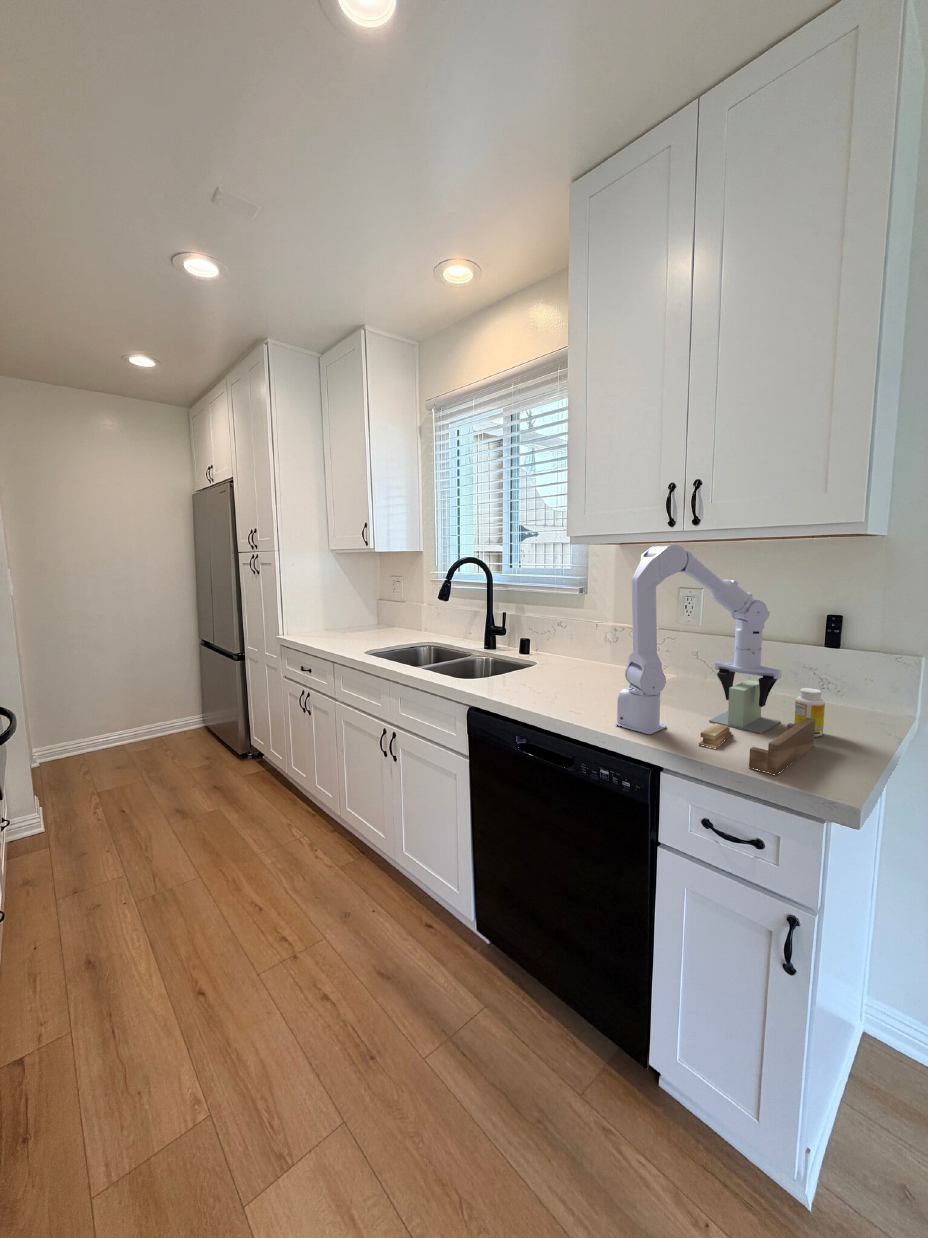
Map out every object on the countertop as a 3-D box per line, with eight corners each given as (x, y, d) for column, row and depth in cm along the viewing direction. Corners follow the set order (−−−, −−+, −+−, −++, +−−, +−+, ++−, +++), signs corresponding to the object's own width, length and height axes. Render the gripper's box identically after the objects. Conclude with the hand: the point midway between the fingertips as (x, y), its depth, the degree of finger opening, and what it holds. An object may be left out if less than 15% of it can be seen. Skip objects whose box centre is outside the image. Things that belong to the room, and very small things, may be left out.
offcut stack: (697, 747, 111) (698, 734, 111) (714, 732, 120) (715, 720, 120) (716, 751, 109) (717, 738, 109) (732, 736, 118) (732, 723, 117)
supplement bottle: (824, 732, 117) (827, 689, 116) (820, 739, 113) (823, 694, 112) (796, 727, 121) (798, 685, 120) (791, 734, 117) (793, 690, 116)
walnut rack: (748, 768, 99) (750, 738, 98) (788, 740, 113) (790, 714, 113) (776, 776, 96) (777, 745, 95) (813, 746, 110) (815, 719, 109)
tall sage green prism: (727, 724, 124) (729, 687, 122) (746, 714, 131) (748, 680, 129) (742, 727, 121) (744, 690, 120) (760, 717, 128) (762, 682, 127)
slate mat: (708, 722, 127) (709, 720, 126) (729, 711, 134) (729, 710, 134) (761, 734, 117) (761, 732, 117) (780, 722, 125) (780, 720, 125)
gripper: (787, 649, 121) (784, 705, 122) (724, 642, 132) (721, 693, 133) (776, 653, 116) (773, 711, 118) (711, 646, 127) (709, 699, 129)
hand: (745, 702), depth 125 cm, fingers open, 7 cm apart
